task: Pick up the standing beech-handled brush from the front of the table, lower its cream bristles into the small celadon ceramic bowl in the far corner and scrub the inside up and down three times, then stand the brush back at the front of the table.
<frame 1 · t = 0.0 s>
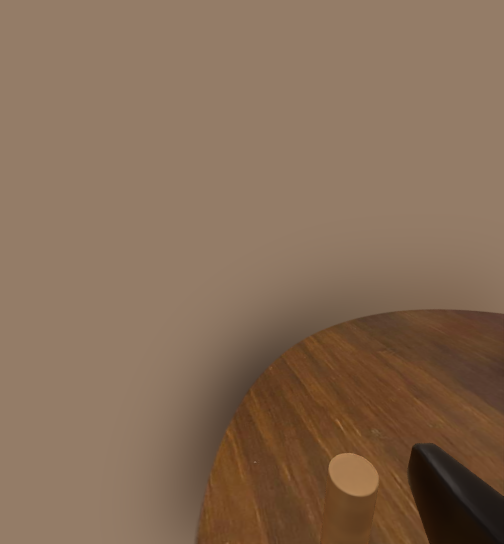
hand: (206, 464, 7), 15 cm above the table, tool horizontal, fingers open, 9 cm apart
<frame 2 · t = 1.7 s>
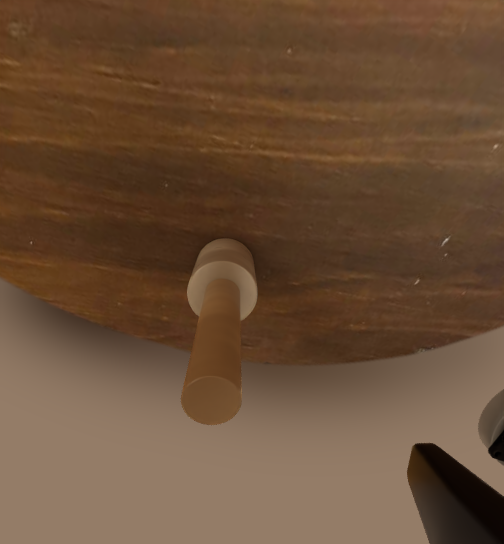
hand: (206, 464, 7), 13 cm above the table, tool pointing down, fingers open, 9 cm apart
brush: (225, 265, 19), on the table
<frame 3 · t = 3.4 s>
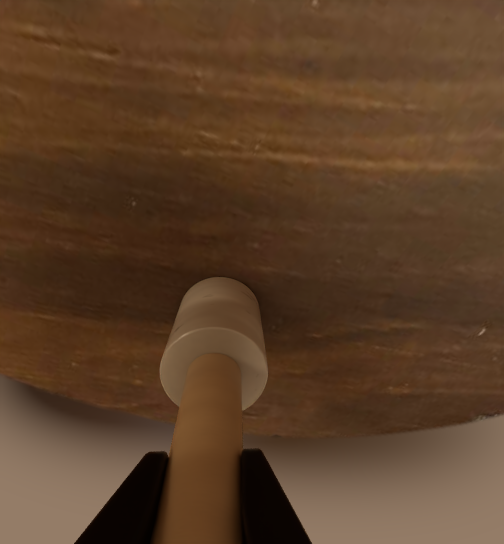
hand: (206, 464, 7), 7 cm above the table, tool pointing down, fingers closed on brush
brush: (220, 313, 14), on the table, touching gripper
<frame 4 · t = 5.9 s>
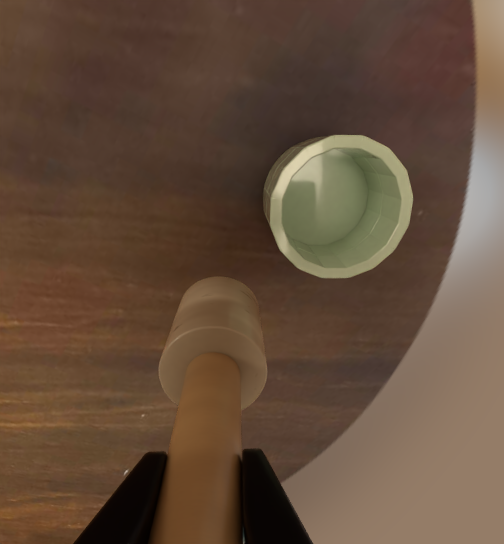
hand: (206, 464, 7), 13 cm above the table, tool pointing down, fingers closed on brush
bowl: (318, 197, 19), on the table
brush: (219, 312, 14), point 6 cm above the table, touching gripper
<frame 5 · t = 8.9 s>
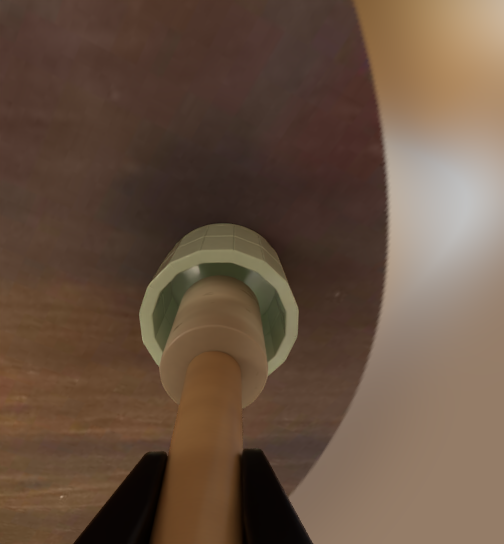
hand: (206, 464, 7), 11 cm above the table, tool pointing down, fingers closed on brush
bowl: (224, 281, 17), on the table
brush: (220, 311, 14), point 4 cm above the table, touching gripper
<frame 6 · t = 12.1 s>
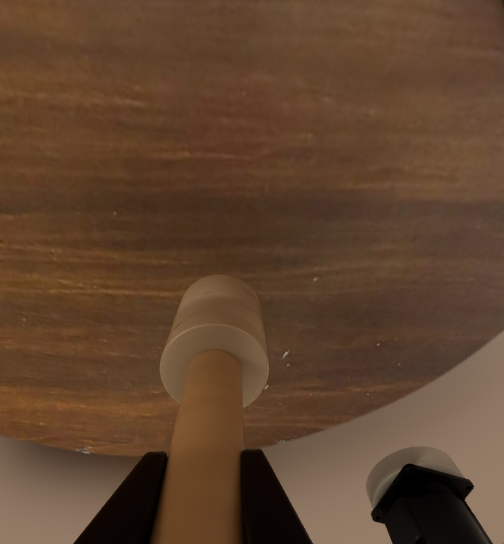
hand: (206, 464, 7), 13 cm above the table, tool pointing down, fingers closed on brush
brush: (220, 310, 14), point 6 cm above the table, touching gripper
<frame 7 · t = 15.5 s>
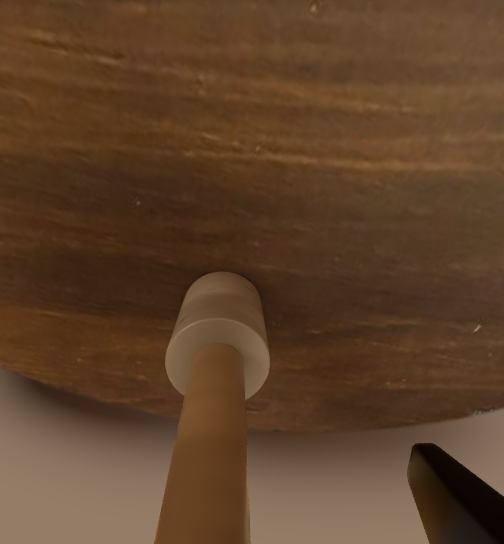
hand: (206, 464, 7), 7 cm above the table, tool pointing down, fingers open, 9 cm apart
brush: (222, 307, 14), on the table
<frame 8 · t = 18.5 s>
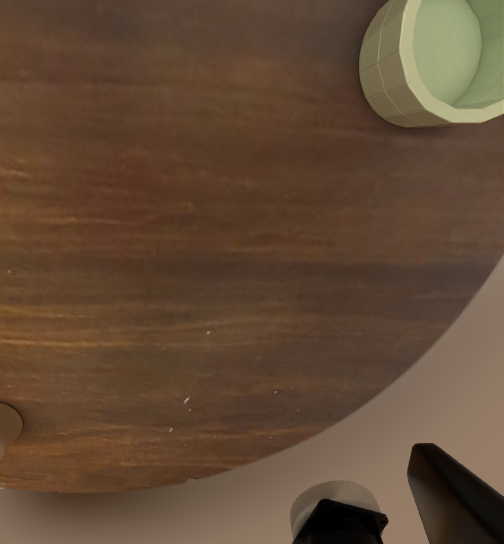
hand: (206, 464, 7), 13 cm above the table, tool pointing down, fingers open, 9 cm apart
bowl: (421, 59, 16), on the table
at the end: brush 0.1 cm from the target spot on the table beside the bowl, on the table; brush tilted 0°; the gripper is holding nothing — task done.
